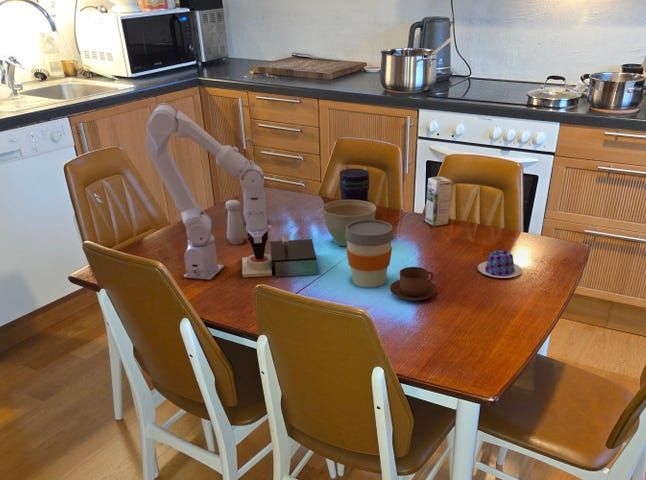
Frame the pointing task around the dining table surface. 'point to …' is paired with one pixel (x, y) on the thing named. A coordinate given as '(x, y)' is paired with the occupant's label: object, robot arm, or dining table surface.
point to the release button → (259, 259)
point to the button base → (256, 267)
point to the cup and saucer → (414, 284)
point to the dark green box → (295, 268)
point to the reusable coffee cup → (369, 251)
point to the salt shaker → (235, 223)
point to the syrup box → (438, 201)
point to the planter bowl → (346, 216)
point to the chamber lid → (292, 250)
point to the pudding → (500, 265)
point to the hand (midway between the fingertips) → (259, 258)
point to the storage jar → (354, 184)
